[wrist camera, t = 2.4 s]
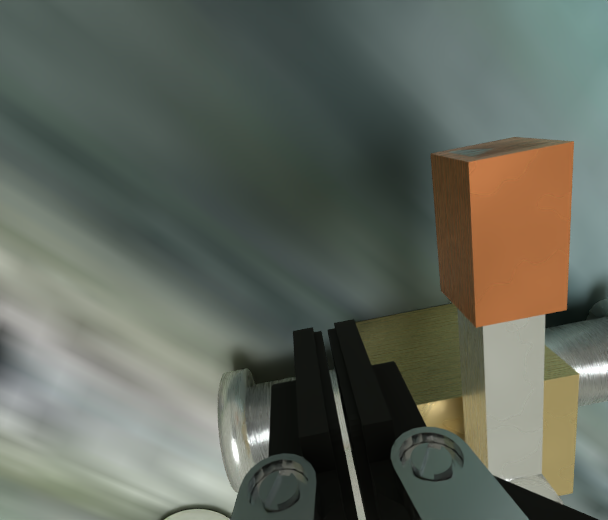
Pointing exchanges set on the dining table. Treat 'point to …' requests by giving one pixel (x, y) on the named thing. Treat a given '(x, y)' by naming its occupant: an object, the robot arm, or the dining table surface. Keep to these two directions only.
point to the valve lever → (504, 288)
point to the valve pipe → (436, 386)
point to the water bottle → (197, 515)
